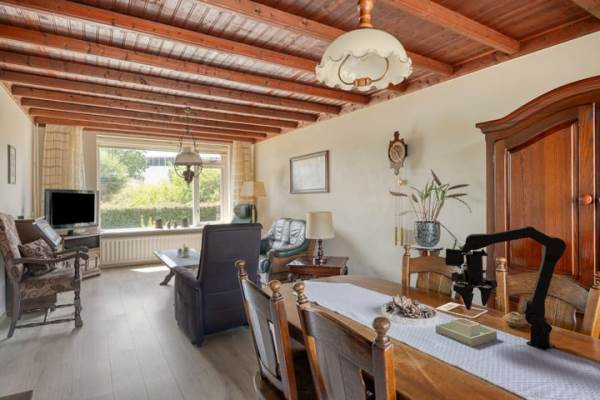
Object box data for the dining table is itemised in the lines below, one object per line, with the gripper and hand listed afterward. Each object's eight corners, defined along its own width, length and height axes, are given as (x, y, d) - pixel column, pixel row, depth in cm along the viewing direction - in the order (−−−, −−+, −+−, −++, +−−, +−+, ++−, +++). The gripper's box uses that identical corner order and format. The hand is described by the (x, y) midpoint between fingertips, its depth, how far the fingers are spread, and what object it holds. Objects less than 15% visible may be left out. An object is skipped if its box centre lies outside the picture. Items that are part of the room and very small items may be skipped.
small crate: (461, 328, 138) (461, 317, 138) (480, 335, 131) (479, 323, 131) (451, 331, 135) (451, 320, 135) (469, 338, 128) (469, 326, 128)
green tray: (460, 325, 144) (460, 318, 144) (496, 338, 130) (496, 330, 130) (435, 332, 137) (435, 325, 137) (471, 347, 123) (471, 338, 123)
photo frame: (450, 301, 175) (487, 310, 161) (450, 304, 175) (487, 312, 161) (435, 307, 166) (473, 317, 152) (435, 310, 166) (473, 319, 152)
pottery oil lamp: (526, 320, 148) (532, 308, 144) (522, 338, 139) (529, 325, 136) (503, 310, 152) (509, 298, 149) (498, 327, 143) (504, 314, 140)
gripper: (471, 261, 144) (473, 299, 144) (440, 266, 135) (442, 306, 135) (497, 265, 134) (499, 305, 134) (465, 271, 125) (467, 314, 125)
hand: (476, 307), depth 132 cm, fingers open, 9 cm apart
